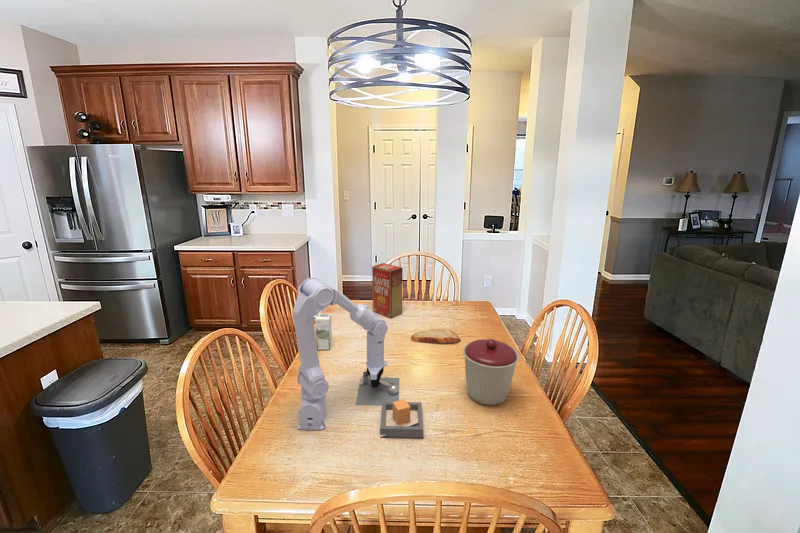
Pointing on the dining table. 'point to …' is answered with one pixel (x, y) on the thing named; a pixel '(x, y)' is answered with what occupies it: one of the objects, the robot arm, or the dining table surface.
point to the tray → (402, 431)
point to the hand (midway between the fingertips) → (375, 386)
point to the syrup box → (323, 331)
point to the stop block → (401, 412)
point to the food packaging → (387, 290)
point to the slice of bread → (435, 336)
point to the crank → (380, 384)
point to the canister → (489, 370)
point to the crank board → (376, 394)
